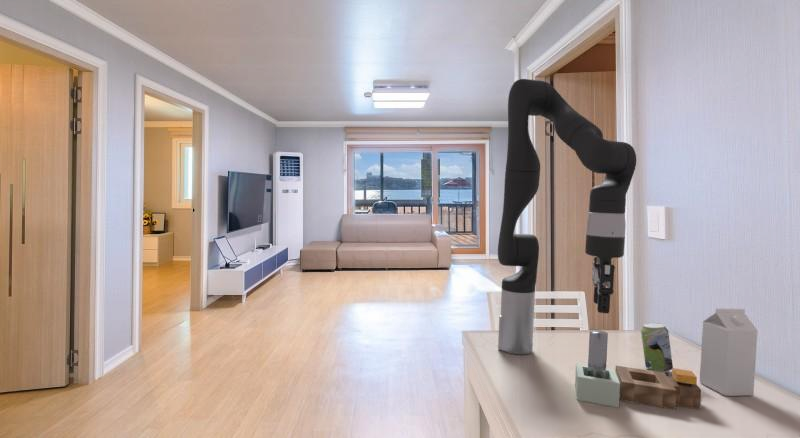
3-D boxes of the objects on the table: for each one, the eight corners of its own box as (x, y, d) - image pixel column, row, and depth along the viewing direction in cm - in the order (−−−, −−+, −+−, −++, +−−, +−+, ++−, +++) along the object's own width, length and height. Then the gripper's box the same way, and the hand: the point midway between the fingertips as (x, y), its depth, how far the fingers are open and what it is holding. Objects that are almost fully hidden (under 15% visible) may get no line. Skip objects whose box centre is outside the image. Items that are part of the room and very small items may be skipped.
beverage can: (676, 376, 103) (679, 329, 102) (644, 373, 104) (647, 326, 104) (666, 367, 109) (668, 322, 109) (635, 364, 110) (638, 319, 110)
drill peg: (587, 397, 90) (590, 333, 89) (585, 390, 93) (589, 329, 93) (605, 400, 88) (608, 335, 88) (603, 393, 92) (606, 331, 91)
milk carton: (699, 382, 100) (703, 304, 99) (726, 382, 100) (731, 305, 100) (724, 396, 93) (729, 312, 92) (753, 396, 93) (759, 312, 93)
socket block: (621, 400, 89) (622, 381, 89) (614, 382, 98) (615, 365, 98) (704, 414, 84) (705, 395, 84) (689, 394, 93) (690, 376, 93)
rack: (576, 399, 88) (577, 376, 88) (575, 384, 96) (576, 363, 96) (618, 407, 86) (619, 383, 85) (613, 391, 93) (614, 369, 93)
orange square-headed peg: (675, 400, 88) (676, 374, 88) (670, 393, 92) (672, 368, 91) (695, 403, 87) (696, 377, 87) (690, 396, 90) (691, 370, 90)
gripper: (630, 237, 81) (625, 318, 82) (619, 232, 95) (615, 302, 96) (589, 235, 84) (584, 313, 85) (583, 230, 97) (580, 298, 98)
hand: (600, 307), depth 90 cm, fingers open, 8 cm apart
